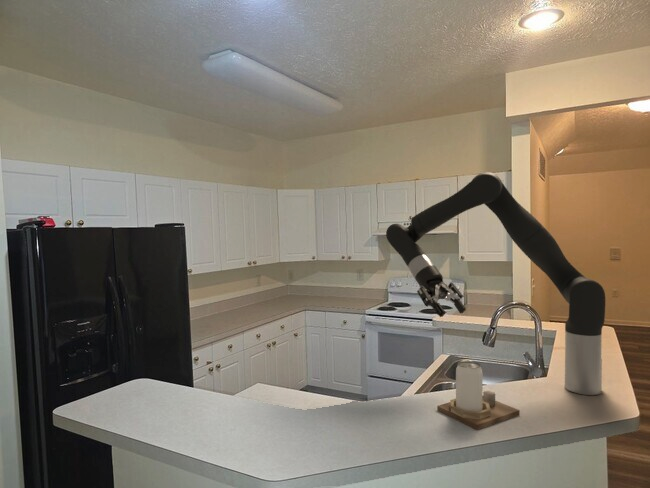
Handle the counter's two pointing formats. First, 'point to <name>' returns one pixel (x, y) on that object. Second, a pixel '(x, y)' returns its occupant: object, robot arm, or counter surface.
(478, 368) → the can
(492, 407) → the board
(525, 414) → the counter surface
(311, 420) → the counter surface
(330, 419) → the counter surface
